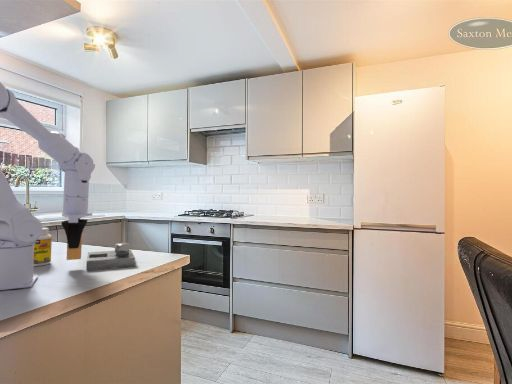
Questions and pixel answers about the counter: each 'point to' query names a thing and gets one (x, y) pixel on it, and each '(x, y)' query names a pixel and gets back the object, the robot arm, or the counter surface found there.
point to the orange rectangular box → (74, 252)
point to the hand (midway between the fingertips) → (74, 246)
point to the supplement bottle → (43, 248)
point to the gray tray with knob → (111, 258)
